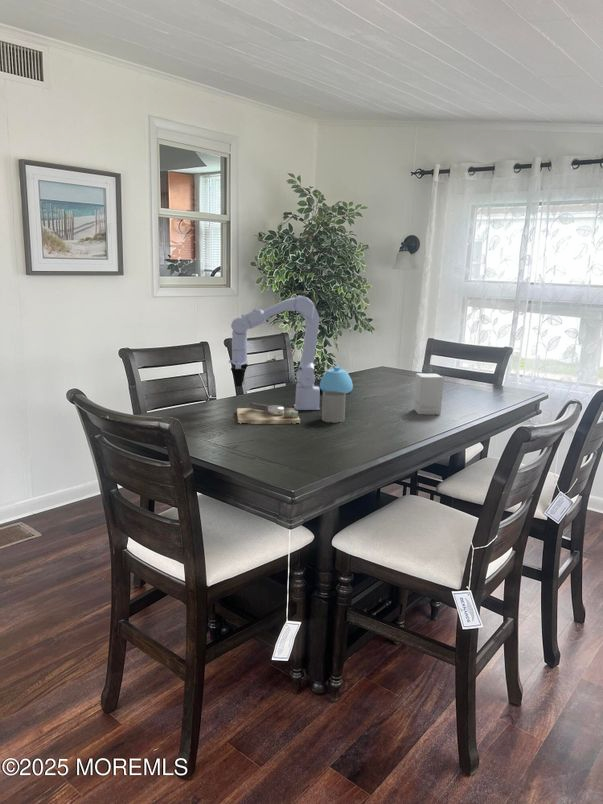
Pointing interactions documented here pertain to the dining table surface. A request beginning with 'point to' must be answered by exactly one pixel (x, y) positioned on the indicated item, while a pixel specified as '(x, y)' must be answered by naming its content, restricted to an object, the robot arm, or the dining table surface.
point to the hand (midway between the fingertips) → (239, 384)
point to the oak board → (267, 416)
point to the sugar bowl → (336, 381)
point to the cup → (333, 406)
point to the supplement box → (428, 393)
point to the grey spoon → (269, 408)
